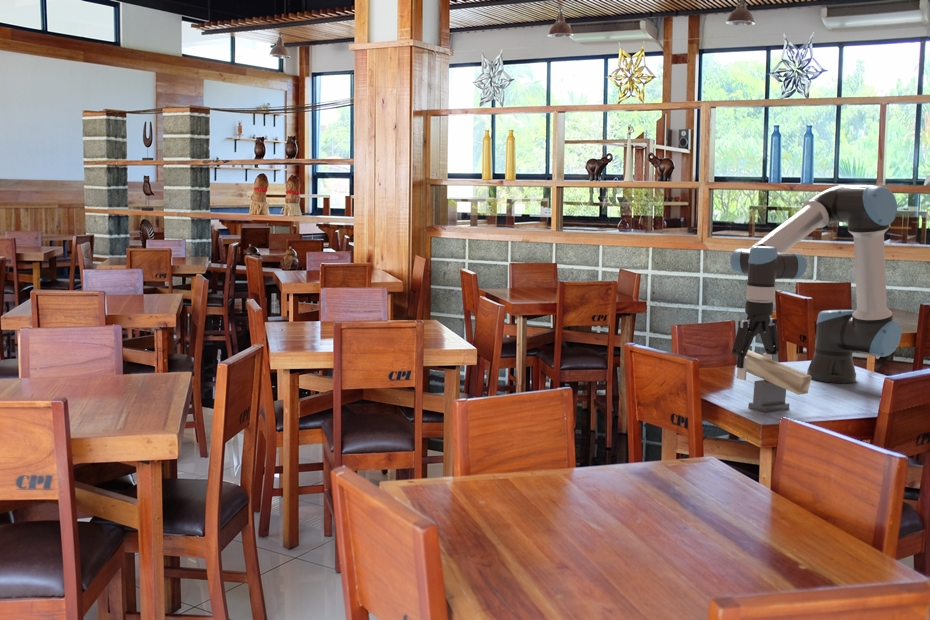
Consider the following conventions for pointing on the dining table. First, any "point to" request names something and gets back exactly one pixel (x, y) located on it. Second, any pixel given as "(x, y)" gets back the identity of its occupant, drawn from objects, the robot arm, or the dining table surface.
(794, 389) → the ash bar
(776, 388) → the gray pedestal stand
